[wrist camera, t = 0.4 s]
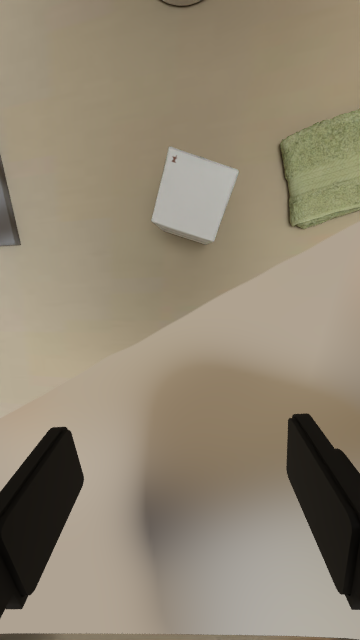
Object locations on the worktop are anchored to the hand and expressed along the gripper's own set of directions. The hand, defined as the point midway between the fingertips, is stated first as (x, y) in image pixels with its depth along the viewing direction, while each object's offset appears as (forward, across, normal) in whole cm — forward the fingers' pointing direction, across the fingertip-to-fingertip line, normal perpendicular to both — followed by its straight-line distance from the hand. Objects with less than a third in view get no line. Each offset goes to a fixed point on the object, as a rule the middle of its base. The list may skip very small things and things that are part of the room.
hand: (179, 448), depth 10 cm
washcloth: (+31, -24, -17) cm, 43 cm away
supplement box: (+31, -2, -13) cm, 34 cm away
